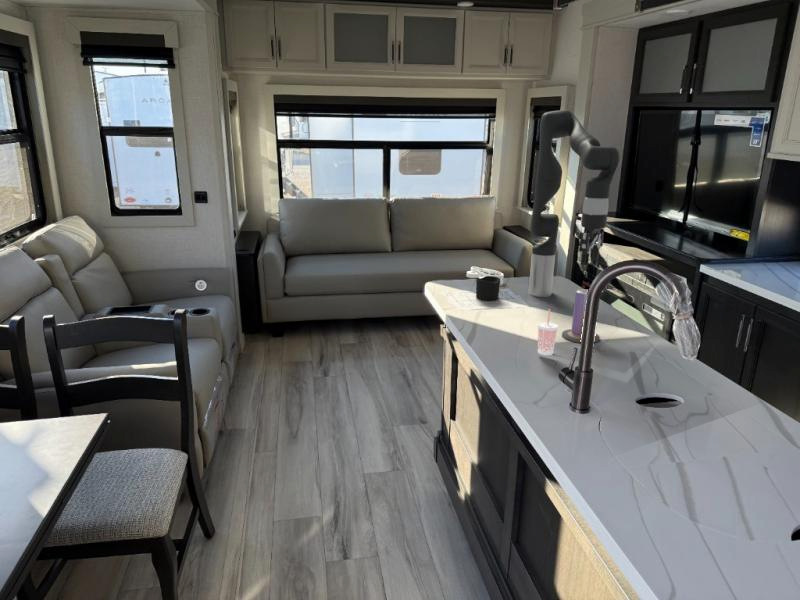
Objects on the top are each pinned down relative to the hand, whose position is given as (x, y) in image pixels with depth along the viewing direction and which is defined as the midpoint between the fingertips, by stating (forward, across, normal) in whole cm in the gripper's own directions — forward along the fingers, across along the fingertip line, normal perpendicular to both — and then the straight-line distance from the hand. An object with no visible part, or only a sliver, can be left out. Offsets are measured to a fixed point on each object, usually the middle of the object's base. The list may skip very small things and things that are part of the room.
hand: (589, 262), depth 180 cm
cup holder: (+26, -37, -59) cm, 74 cm away
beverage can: (+25, 0, 0) cm, 25 cm away
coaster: (+25, +1, 0) cm, 25 cm away
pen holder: (+26, -15, -45) cm, 54 cm away
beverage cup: (+26, +22, -3) cm, 34 cm away
